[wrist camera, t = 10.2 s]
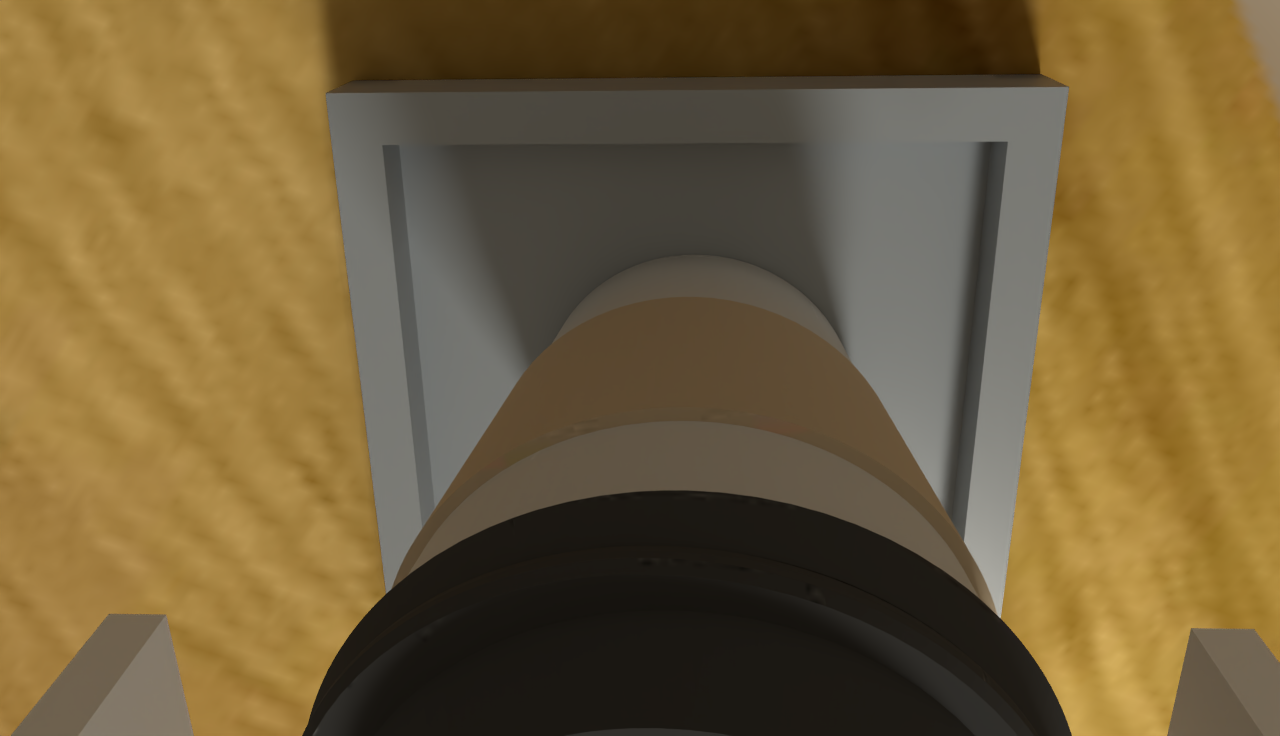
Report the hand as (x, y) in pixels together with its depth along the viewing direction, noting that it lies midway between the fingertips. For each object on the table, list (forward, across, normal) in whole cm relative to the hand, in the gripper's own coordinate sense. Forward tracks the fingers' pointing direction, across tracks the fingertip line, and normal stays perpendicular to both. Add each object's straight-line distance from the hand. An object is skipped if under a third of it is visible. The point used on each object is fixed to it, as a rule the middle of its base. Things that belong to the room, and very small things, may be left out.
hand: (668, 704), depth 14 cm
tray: (+11, 0, -1) cm, 11 cm away
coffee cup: (+11, 0, -1) cm, 11 cm away
